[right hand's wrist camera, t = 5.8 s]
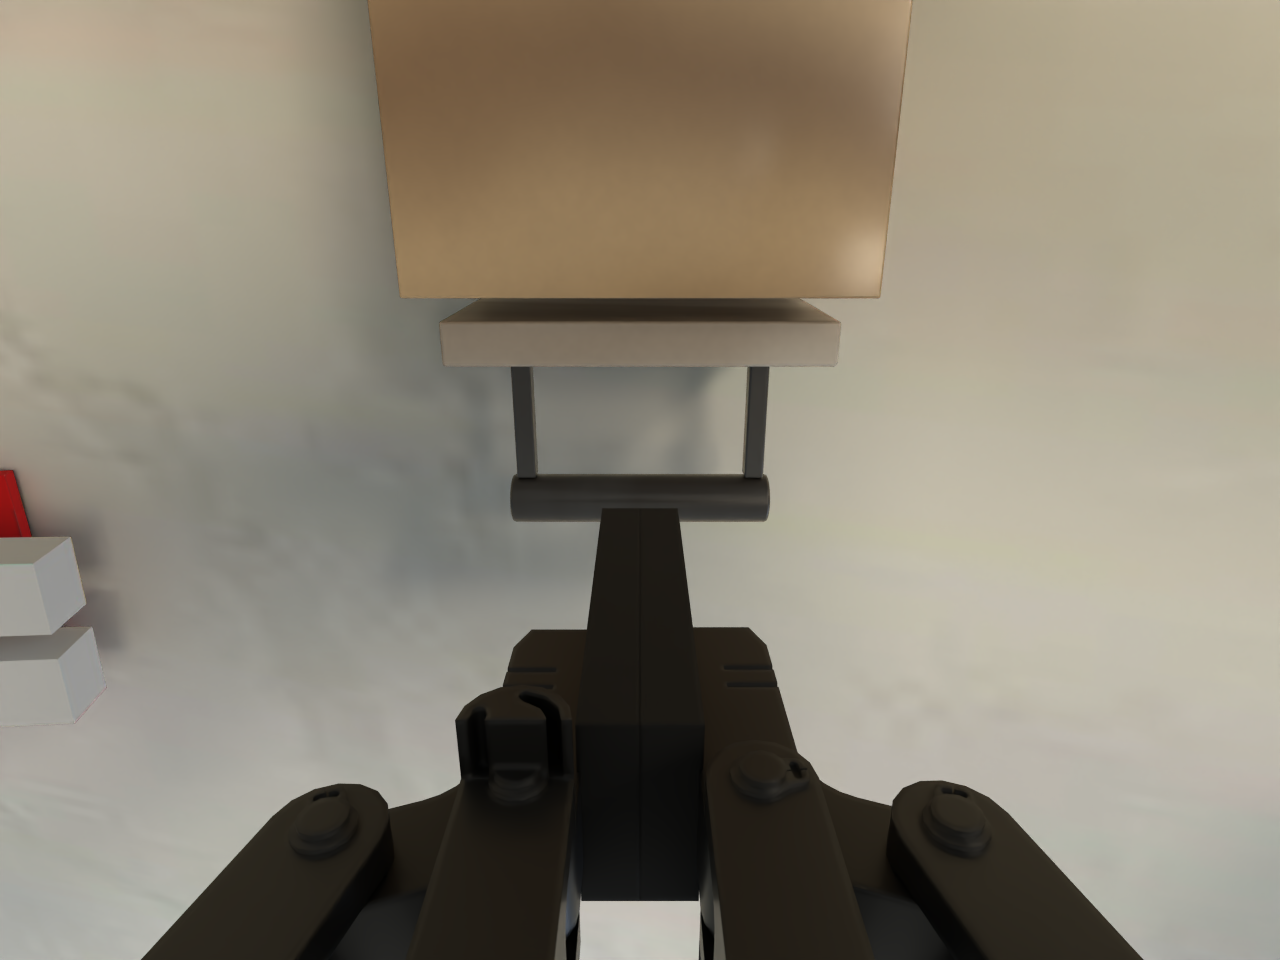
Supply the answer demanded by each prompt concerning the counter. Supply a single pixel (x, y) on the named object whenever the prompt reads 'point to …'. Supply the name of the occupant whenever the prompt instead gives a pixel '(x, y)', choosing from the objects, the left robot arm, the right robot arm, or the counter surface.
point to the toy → (41, 625)
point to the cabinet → (640, 145)
